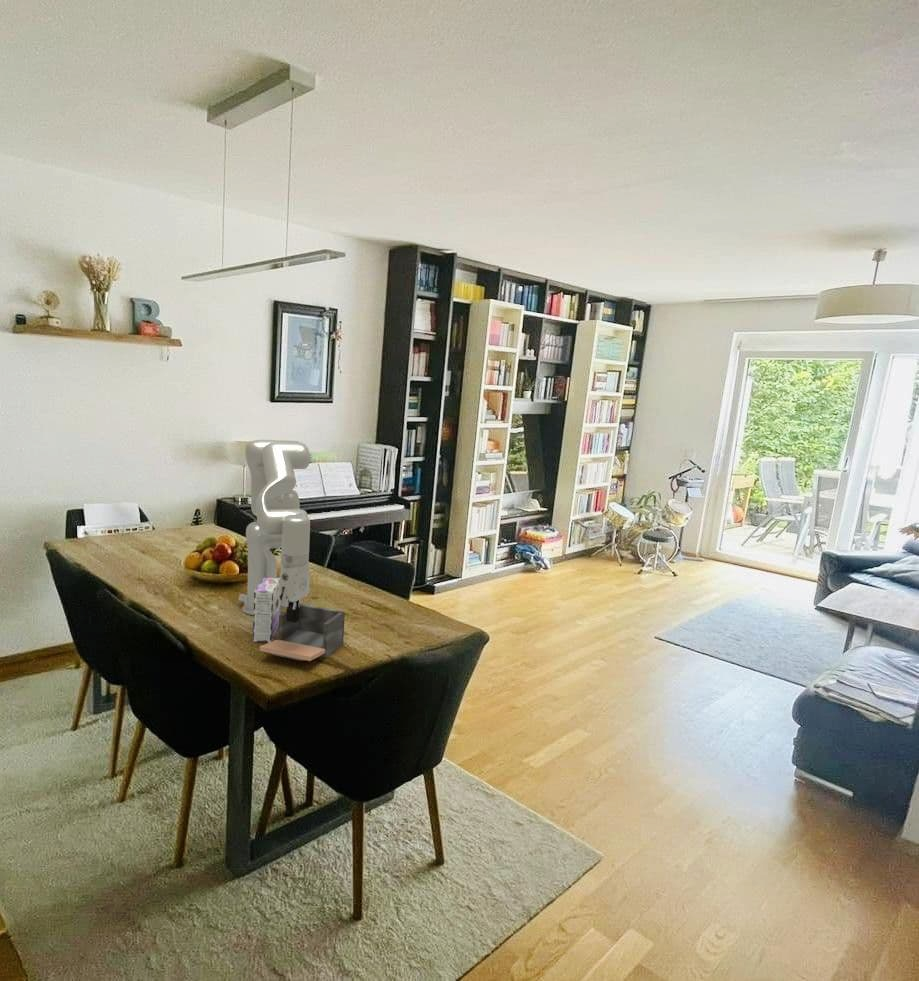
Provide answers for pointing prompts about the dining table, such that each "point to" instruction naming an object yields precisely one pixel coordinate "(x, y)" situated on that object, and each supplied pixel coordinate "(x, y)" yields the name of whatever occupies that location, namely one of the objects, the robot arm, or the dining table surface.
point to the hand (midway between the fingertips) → (292, 620)
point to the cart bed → (314, 628)
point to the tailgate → (292, 650)
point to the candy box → (266, 610)
